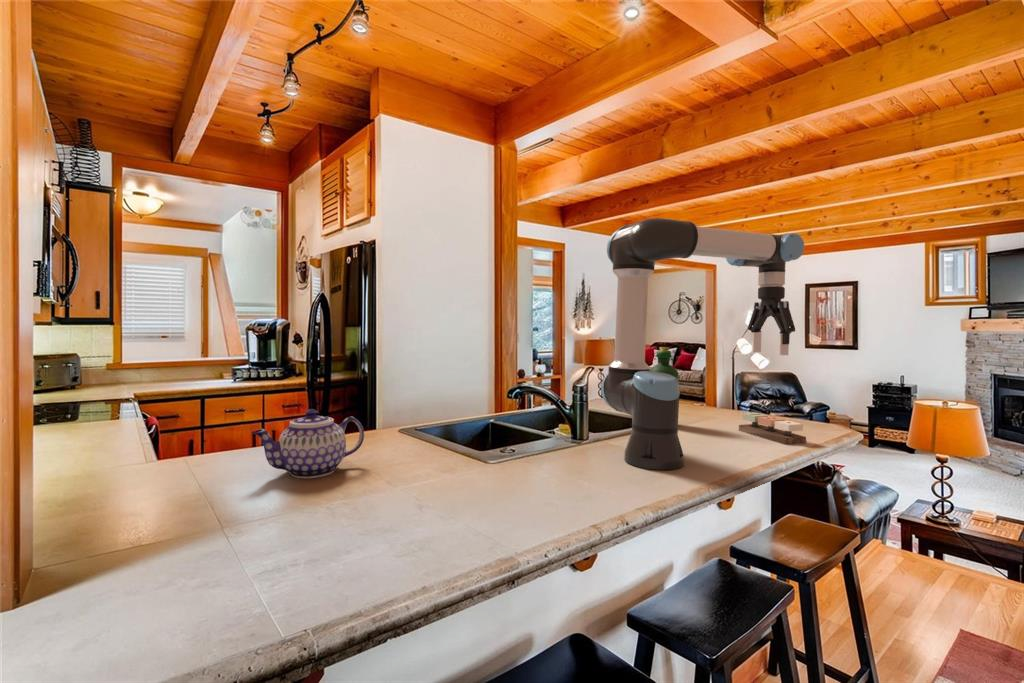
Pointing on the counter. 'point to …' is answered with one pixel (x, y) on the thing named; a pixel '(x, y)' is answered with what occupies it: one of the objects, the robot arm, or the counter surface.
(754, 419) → the sage tile
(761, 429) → the button board
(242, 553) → the counter surface
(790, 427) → the cream tile
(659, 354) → the bottle
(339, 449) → the teapot
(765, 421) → the terracotta tile
